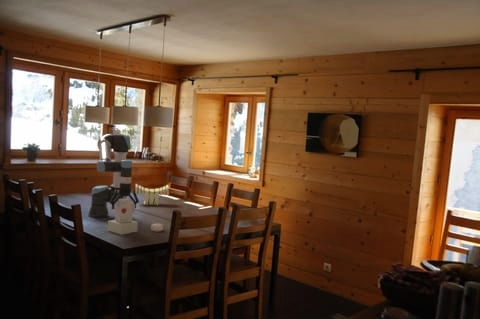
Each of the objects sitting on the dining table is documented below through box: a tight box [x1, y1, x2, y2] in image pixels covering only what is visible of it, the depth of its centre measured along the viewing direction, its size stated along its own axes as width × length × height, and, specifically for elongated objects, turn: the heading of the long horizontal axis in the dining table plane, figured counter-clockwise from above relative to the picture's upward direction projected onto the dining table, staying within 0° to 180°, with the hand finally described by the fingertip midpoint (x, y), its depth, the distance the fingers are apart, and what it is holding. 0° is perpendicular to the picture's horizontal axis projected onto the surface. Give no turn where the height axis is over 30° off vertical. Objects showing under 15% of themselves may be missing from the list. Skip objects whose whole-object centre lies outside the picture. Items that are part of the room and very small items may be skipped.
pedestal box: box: [107, 219, 139, 236], centre depth 281 cm, size 14×14×7 cm
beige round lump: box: [150, 222, 164, 233], centre depth 290 cm, size 8×8×4 cm
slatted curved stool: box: [134, 183, 170, 206], centre depth 384 cm, size 30×16×18 cm, turn 104°
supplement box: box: [114, 197, 134, 223], centre depth 280 cm, size 9×9×15 cm
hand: (123, 213), depth 280 cm, fingers open, 13 cm apart
